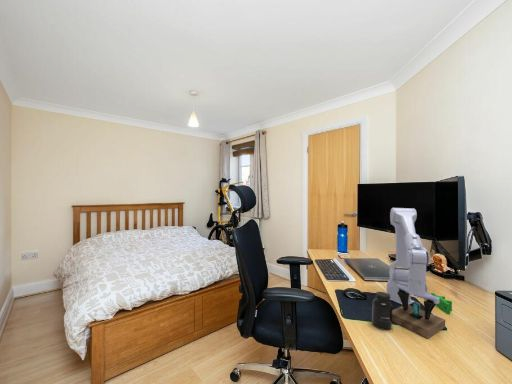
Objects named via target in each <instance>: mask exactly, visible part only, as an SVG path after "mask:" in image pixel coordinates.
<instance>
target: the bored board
mask: <svg viewBox="0 0 512 384" xmlns="http://www.w3.org/2000/svg"><path fill="white" fill-rule="evenodd" d="M412 310H413V305H411V304H409V305H408V310H406V311H405V310H403V305H401V306H399V307H396V308H394V309H393V310H392V323H394V324H396V325H398V326H401V327H403V328H404V329H407V330H409V331H411V332H413V333H415V334H417V335H419V336H421V337H423V338H426V339H427V340H429V339H430V338H431V337H433V336H434V335H436V334H438V333H440V331H442V330H444V329H445V328H446V318H445V319H444V318H442V317H440V316H438V315H434V314H432V313H431V314H430V318H429V319H428V320H426V319H425V310H423V309H420V319H417V318H415V317H412Z"/></svg>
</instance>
